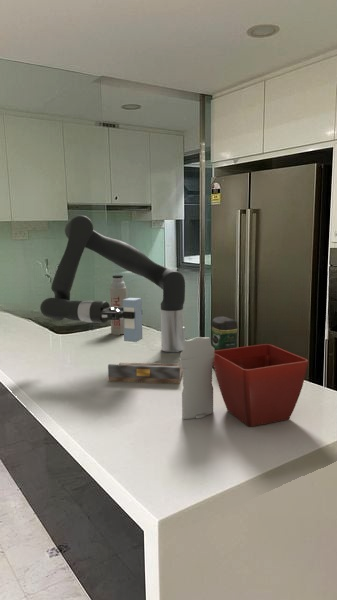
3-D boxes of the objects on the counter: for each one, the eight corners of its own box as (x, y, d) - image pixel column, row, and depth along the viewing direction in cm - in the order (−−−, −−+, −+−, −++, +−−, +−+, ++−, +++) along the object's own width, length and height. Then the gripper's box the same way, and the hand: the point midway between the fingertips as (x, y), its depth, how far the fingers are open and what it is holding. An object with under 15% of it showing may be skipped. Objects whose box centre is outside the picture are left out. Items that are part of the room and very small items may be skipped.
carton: (130, 337, 158) (129, 297, 156) (142, 338, 156) (141, 298, 154) (123, 341, 153) (122, 299, 151) (135, 342, 151) (134, 300, 149)
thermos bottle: (121, 335, 216) (119, 276, 211) (107, 334, 219) (105, 276, 215) (130, 332, 223) (129, 274, 218) (117, 330, 226) (115, 274, 222)
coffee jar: (240, 369, 163) (241, 318, 160) (221, 372, 160) (221, 321, 157) (227, 362, 172) (227, 314, 169) (208, 365, 169) (208, 316, 166)
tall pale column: (210, 408, 129) (210, 333, 126) (218, 414, 126) (218, 336, 122) (177, 416, 124) (176, 338, 121) (184, 422, 121) (184, 341, 117)
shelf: (184, 368, 166) (184, 353, 165) (179, 384, 149) (179, 368, 148) (120, 366, 169) (119, 352, 168) (108, 381, 153) (107, 365, 152)
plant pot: (210, 407, 131) (210, 350, 128) (267, 397, 137) (268, 343, 134) (243, 435, 113) (244, 370, 110) (308, 422, 120) (310, 360, 117)
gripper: (82, 304, 152) (128, 306, 145) (103, 298, 165) (146, 299, 159) (83, 326, 153) (129, 329, 147) (104, 318, 166) (147, 321, 160)
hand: (138, 314), depth 153 cm, fingers closed on carton, 5 cm apart
